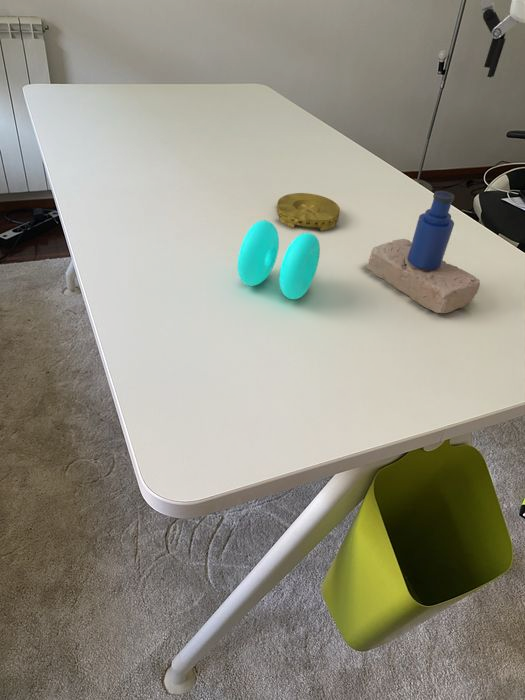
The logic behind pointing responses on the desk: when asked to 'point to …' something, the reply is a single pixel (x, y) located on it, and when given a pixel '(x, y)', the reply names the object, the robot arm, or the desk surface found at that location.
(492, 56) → the robot arm
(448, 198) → the bottle
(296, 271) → the pair of turquoise discs
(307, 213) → the compass
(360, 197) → the desk surface
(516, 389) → the desk surface
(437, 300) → the brick
